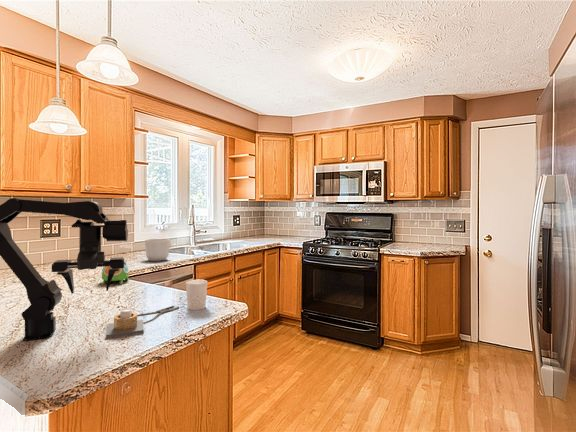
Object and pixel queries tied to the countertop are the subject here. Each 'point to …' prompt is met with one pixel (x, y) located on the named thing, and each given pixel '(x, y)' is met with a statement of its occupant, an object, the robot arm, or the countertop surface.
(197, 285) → the white cup
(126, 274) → the turtle holder
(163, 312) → the pliers
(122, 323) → the ring
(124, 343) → the countertop surface
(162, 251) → the planter
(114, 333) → the grey peg stand
